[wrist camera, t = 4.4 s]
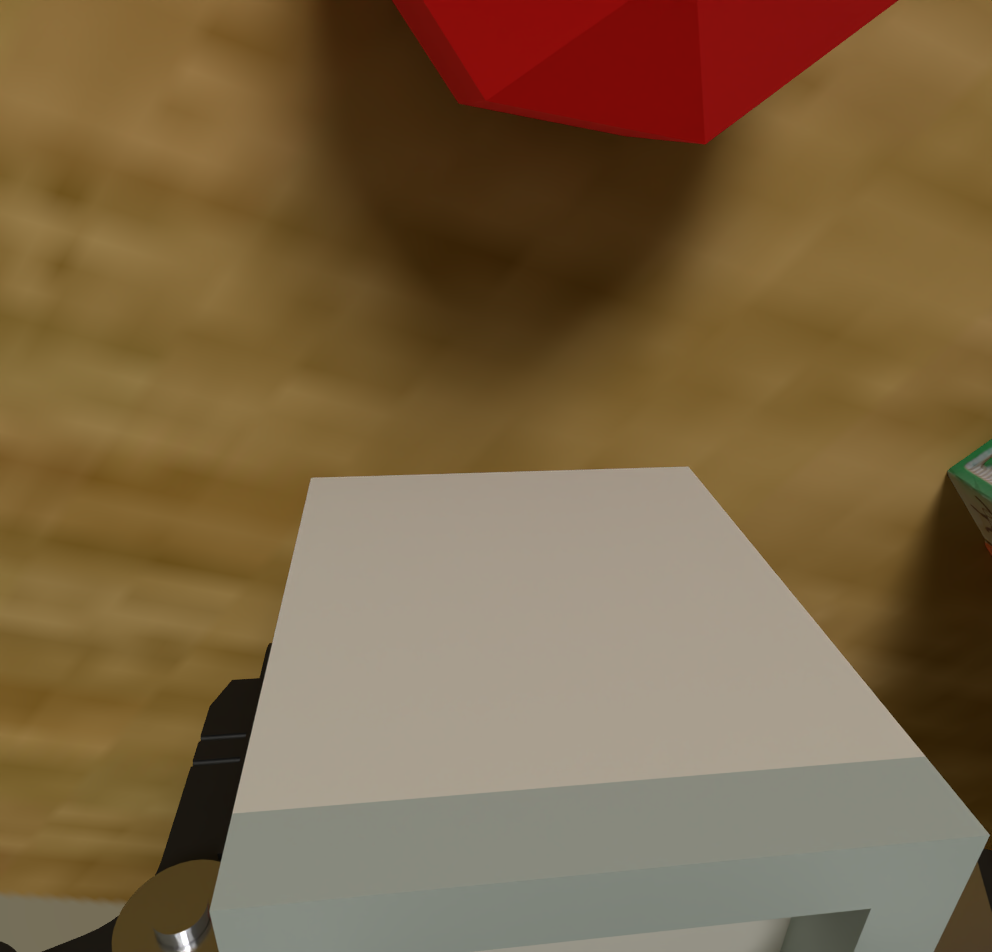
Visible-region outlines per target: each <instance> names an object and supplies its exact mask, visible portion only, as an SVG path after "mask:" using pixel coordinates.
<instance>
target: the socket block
mask: <svg viewBox="0 0 992 952" xmlns="http://www.w3.org/2000/svg"><path fill="white" fill-rule="evenodd" d="M989 836H990V835H989V833H988V832H987V831H986V830H985V828H984V827H983V826H982V825H981V824H980V822H979V821H978V820H977V819H976V817H975V816H974V815H973V814H972V813H971V811H970V810H969V809H968V808H967V806H966V805H965V804H964V803H963V802H962V800H961V799H960V798H959V797H958V795H957V794H956V793H955V792H954V791H953V789H952V788H951V787H950V786H949V784H948V783H947V782H946V781H945V780H944V778H943V777H942V776H941V775H940V774H939V772H938V771H937V770H936V769H935V767H934V766H933V765H932V764H931V763H930V761H929V760H928V759H927V758H926V756H925V755H924V754H923V753H922V752H921V750H920V749H919V748H918V747H917V745H916V744H915V743H914V742H913V741H912V739H911V738H910V737H909V736H908V734H907V733H906V732H905V731H904V730H903V728H902V727H901V726H900V725H899V723H898V722H897V721H896V720H895V719H894V717H893V716H892V715H891V714H890V712H889V711H888V710H887V709H886V708H885V706H884V705H883V704H882V703H881V701H880V700H879V699H878V698H877V697H876V695H875V694H874V693H873V692H872V690H871V689H870V688H869V687H868V686H867V684H866V683H865V682H864V681H863V679H862V678H861V677H860V676H859V675H858V673H857V672H856V671H855V670H854V668H853V667H852V666H851V665H850V664H849V662H848V661H847V660H846V659H845V657H844V656H843V655H842V654H841V653H840V651H839V650H838V649H837V648H836V646H835V645H834V644H833V643H832V642H831V640H830V639H829V638H828V637H827V635H826V634H825V633H824V632H823V631H822V629H821V628H820V627H819V626H818V624H817V623H816V622H815V621H814V620H813V618H812V617H811V616H810V615H809V613H808V612H807V611H806V610H805V609H804V607H803V606H802V605H801V604H800V602H799V601H798V600H797V599H796V598H795V596H794V595H793V594H792V593H791V591H790V590H789V589H788V588H787V587H786V585H785V584H784V583H783V582H782V580H781V579H780V578H779V577H778V576H777V574H776V573H775V572H774V571H773V569H772V568H771V567H770V566H769V565H768V563H767V562H766V561H765V560H764V558H763V557H762V556H761V555H760V554H759V552H758V551H757V550H756V549H755V547H754V546H753V545H752V544H751V543H750V541H749V540H748V539H747V538H746V536H745V535H744V534H743V533H742V532H741V530H740V529H739V528H738V527H737V525H736V524H735V523H734V522H733V521H732V519H731V518H730V517H729V516H728V514H727V513H726V512H725V511H724V510H723V508H722V507H721V506H720V505H719V503H718V502H717V501H716V500H715V499H714V497H713V496H712V495H711V494H710V493H709V491H708V490H707V489H706V488H705V486H704V485H703V484H702V483H701V482H700V480H699V479H698V478H697V477H696V475H695V474H694V473H693V472H692V471H691V469H690V468H689V467H661V468H628V469H594V470H561V471H527V472H494V473H460V474H427V475H393V476H360V477H326V478H311V481H310V485H309V489H308V494H307V498H306V502H305V506H304V511H303V515H302V519H301V523H300V528H299V532H298V536H297V540H296V545H295V549H294V553H293V557H292V562H291V566H290V570H289V574H288V579H287V583H286V587H285V592H284V596H283V600H282V604H281V609H280V613H279V617H278V621H277V626H276V630H275V634H274V638H273V643H272V647H271V651H270V655H269V660H268V664H267V668H266V672H265V677H264V681H263V685H262V689H261V694H260V698H259V702H258V706H257V711H256V715H255V719H254V723H253V728H252V732H251V736H250V740H249V745H248V749H247V753H246V757H245V762H244V766H243V770H242V774H241V779H240V783H239V787H238V791H237V796H236V800H235V804H234V808H233V813H232V817H231V821H230V825H229V830H228V834H227V838H226V842H225V847H224V851H223V855H222V859H221V864H220V868H219V872H218V877H217V881H216V885H215V889H214V894H213V898H212V902H211V906H210V911H209V912H210V916H211V920H212V925H213V929H214V933H215V937H216V942H217V946H218V950H219V952H934V950H935V948H936V946H937V944H938V942H939V940H940V938H941V935H942V933H943V931H944V929H945V927H946V925H947V923H948V921H949V919H950V917H951V915H952V913H953V911H954V909H955V906H956V904H957V902H958V900H959V898H960V896H961V894H962V892H963V890H964V888H965V886H966V884H967V882H968V880H969V878H970V875H971V873H972V871H973V869H974V867H975V865H976V863H977V861H978V859H979V857H980V855H981V853H982V851H983V849H984V847H985V844H986V842H987V840H988V838H989Z"/></svg>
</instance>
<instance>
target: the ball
mask: <svg viewBox="0 0 992 952" xmlns="http://www.w3.org/2000/svg"><path fill="white" fill-rule="evenodd" d="M392 1H393V3H394V4H395V6H396V7H397V9H398V11H399V12H400V14H401V15H402V17H403V18H404V20H405V21H406V23H407V24H408V26H409V28H410V29H411V31H412V32H413V34H414V35H415V37H416V38H417V40H418V42H419V43H420V45H421V46H422V48H423V49H424V51H425V52H426V54H427V55H428V57H429V59H430V60H431V62H432V63H433V65H434V66H435V68H436V69H437V71H438V73H439V74H440V76H441V77H442V79H443V80H444V82H445V83H446V85H447V86H448V88H449V90H450V91H451V93H452V94H453V96H454V97H455V99H456V100H457V102H458V104H463V105H468V106H473V107H478V108H484V109H489V110H494V111H499V112H504V113H509V114H514V115H519V116H524V117H529V118H534V119H540V120H545V121H550V122H555V123H560V124H565V125H570V126H575V127H580V128H585V129H591V130H596V131H601V132H606V133H611V134H616V135H621V136H627V137H637V138H647V139H657V140H667V141H677V142H687V143H697V144H706V143H708V142H709V141H710V140H712V139H713V138H714V137H716V136H717V135H718V134H720V133H721V132H722V131H724V130H725V129H726V128H728V127H729V126H730V125H732V124H733V123H734V122H736V121H737V120H739V119H740V118H741V117H743V116H744V115H745V114H747V113H748V112H749V111H751V110H752V109H753V108H755V107H756V106H757V105H759V104H760V103H761V102H763V101H764V100H765V99H767V98H768V97H769V96H771V95H772V94H773V93H775V92H776V91H777V90H779V89H780V88H781V87H783V86H784V85H785V84H787V83H788V82H789V81H791V80H792V79H793V78H795V77H796V76H797V75H799V74H800V73H801V72H803V71H804V70H805V69H807V68H808V67H810V66H811V65H812V64H814V63H815V62H816V61H818V60H819V59H820V58H822V57H823V56H824V55H826V54H827V53H828V52H830V51H831V50H832V49H834V48H835V47H836V46H838V45H839V44H840V43H842V42H843V41H844V40H846V39H847V38H848V37H850V36H851V35H852V34H854V33H855V32H856V31H858V30H859V29H860V28H862V27H863V26H864V25H866V24H867V23H868V22H870V21H871V20H872V19H874V18H875V17H876V16H878V15H879V14H881V13H882V12H883V11H885V10H886V9H887V8H889V7H890V6H891V5H893V4H894V3H895V2H897V1H898V0H392Z"/></svg>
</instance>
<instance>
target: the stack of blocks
mask: <svg viewBox="0 0 992 952" xmlns="http://www.w3.org/2000/svg"><path fill="white" fill-rule="evenodd" d="M947 473H948V476H949V478H950V480H951V481H952V483H953V485H954V486H955V488H956V490H957V492H958V493H959V495H960V497H961V498H962V500H963V502H964V504H965V505H966V507H967V509H968V510H969V512H970V514H971V516H972V517H973V519H974V521H975V523H976V524H977V526H978V528H979V529H980V531H981V533H982V535H983V536H984V538H985V546H986V548H987V549H988V551H989V552H990V554H991V556H992V439H991V440H989V441H988V442H987V443H985V444H984V445H983V446H981V447H980V448H978V449H977V450H976V451H974V452H973V453H971V454H970V455H969V456H967V457H966V458H964V459H963V460H961V461H960V462H959V463H957V464H956V465H954V466H953V467H951V468H950V469H949V470H948V471H947Z"/></svg>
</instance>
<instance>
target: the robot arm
mask: <svg viewBox="0 0 992 952" xmlns="http://www.w3.org/2000/svg"><path fill="white" fill-rule="evenodd" d="M271 647H272V643H270V644H269V645H268V647H267V650H266V654H265V658H264V662H263V666H262V671H261V675H260V678H257V679H241V680H232V681H231V682H230V683H229V684H228V686H227V687H226V688H225V689H224V690H223V691H222V693H221V694H220V695H219V696H218V697H217V699H216V700H215V701H214V702H213V703H212V704H211V706H210V707H209V711H208V714H207V717H206V720H205V723H204V727H203V730H202V733H201V741H200V742H199V743H198V746H197V749H196V752H195V755H194V759H193V767H191V768H190V771H189V774H188V778H187V781H186V784H185V787H184V790H183V794H182V797H181V800H180V803H179V806H178V810H177V813H176V816H175V819H174V822H173V826H172V829H171V832H170V835H169V838H168V842H167V845H166V848H165V851H164V854H163V857H162V861H161V863H160V866H159V868H158V871H157V873H156V874H155V876H154V877H152V878H151V879H149V880H148V881H147V882H146V883H144V884H143V885H142V886H141V887H140V888H139V889H138V890H137V891H136V892H135V893H134V894H133V895H132V896H131V897H130V899H129V900H128V902H127V903H126V904H125V906H124V907H123V909H122V911H121V913H120V915H119V916H118V917H116V918H115V919H113V920H112V921H111V922H109V923H107V924H105V925H104V926H102V927H100V928H99V929H97V930H95V931H92V932H90V933H88V934H86V935H83V936H81V937H78V938H76V939H73V940H71V941H68V942H66V943H63V944H60V945H58V946H55V947H53V948H51V949H48V950H45V951H43V952H219V950H218V946H217V942H216V937H215V933H214V929H213V925H212V920H211V916H210V912H209V911H210V906H211V902H212V898H213V894H214V889H215V885H216V881H217V877H218V872H219V868H220V864H221V859H222V855H223V851H224V847H225V842H226V838H227V834H228V830H229V825H230V821H231V817H232V813H233V808H234V804H235V800H236V796H237V791H238V787H239V783H240V779H241V774H242V770H243V766H244V762H245V757H246V753H247V749H248V745H249V740H250V736H251V732H252V728H253V723H254V719H255V715H256V711H257V706H258V702H259V698H260V694H261V689H262V685H263V681H264V677H265V672H266V668H267V664H268V660H269V655H270V651H271ZM0 952H16V951H15V950H14V949H13V948H12V947H11V946H9V945H8V944H5V943H3V942H0ZM934 952H992V850H987V849H983V851H982V853H981V855H980V857H979V859H978V861H977V863H976V865H975V867H974V869H973V871H972V873H971V875H970V878H969V880H968V882H967V884H966V886H965V888H964V890H963V892H962V894H961V896H960V898H959V900H958V902H957V904H956V906H955V909H954V911H953V913H952V915H951V917H950V919H949V921H948V923H947V925H946V927H945V929H944V931H943V933H942V935H941V938H940V940H939V942H938V944H937V946H936V948H935V950H934Z"/></svg>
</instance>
